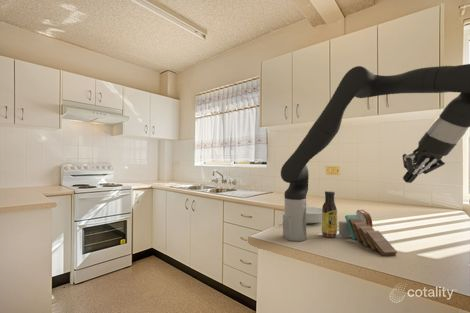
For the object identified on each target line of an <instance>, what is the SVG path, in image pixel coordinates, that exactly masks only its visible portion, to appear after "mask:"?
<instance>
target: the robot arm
mask: <svg viewBox="0 0 470 313" xmlns="http://www.w3.org/2000/svg"><path fill="white" fill-rule="evenodd" d="M443 93H459V94H458V95H457V96H456V97H454V98H453V99H451V100H450V101H449V102H448V104H447V105H446V106H445V107H444V109H443V110H442V112H440V114H439V116H438V117H437V118H436V119H435V120H434V121H433V122H432V123H431V125H430V126H429V127H428V129H427V130H426V132H425V133H423V135H422V137H420V139H419V140H418V145H417V146H418V147H416V149H414V150H413V151H412V153H410V154H407V153H403V154H402V163H403V168H404V169H406V170H407V171H406V173H405V174H404V175H403V176H402V180H403V181H404V182H405V183H409V184H411V183H413V182H414V181H415V179H416V178H417V177H418V176H420V175H422V174H424V175H426V174H428V173H431V172H432V171H434V170H437V169H438V168H441V167H443V166H444V165H445V164H446V163H445V161H443V160H442V158H443V157H446V156H448V155H449V154H450V153H451V152H452V150H453V149H454V148H455V147H456V146H457V145H458V143H459V142H460V141H461V140H462V138H463V137H464V136H465V135H466V133H467V132H468V130H469V129H470V63H468V64H467V63H466V64H461V65H459V64H458V65H439V66H429V67H427V66H426V67H419V68H415V69H412V70H407V71H405V72H402V73H400V74H399V73H398V74H393V75H381V74H380V75H379V74H374V73H373V72H371V71H370V70H369V69H367V68H366V67H365V66H361V65H357V66H354V67H352V68H350V69H349V70H347V72H346V73H345V74H344V75H343V77H342V78H341V80H340V82H339V83H338V85H337V88H336V89H335V91H334V93H333V95H332V96H331V97H330V100H329V101H328V103H327V104H326V106H325V107H324V109H323V110H322V112H321V113H320V115H319V116H318V118H317V119H316V121H315V122H314V123H313V124H312V126H311V127H310V128H309V131H308V132H307V134H306V135H305V137H304V138H303V139H302V140H301V142H300V143H299V145H298V146H297V147H296V149H295V151H294V152H293V153H292V154H291V155H290V156H289V158H288V159H287V160H286V161H285V163H283V165H282V166H281V169H280V177H281V179H282V180H283V182H285V183H287V184H289V186H288V188H287V189H286V190H285V191H284V196H283V197H284V214H282V236H283V238H285V239H286V240H287V241H294V242H301V241H302V242H303V241H306V240H307V223H306V206H307V194H308V191H309V176H310V174H309V169H308V166H307V164H308V163H309V162H310V160H312V159H313V158H314V157H315V156H317V155H318V154H320V152H322V151H323V150H325V148H327V147H328V146H329V145H330V143H331V142H332V141H333V139H335V137H336V135H337V134H338V132H339V131H340V128H341V125H342V120H343V117H344V113H345V111H346V109H348V108H347V107H348V106H349V104H350V103H351V102H352V101H353V99H355V98H358V99H365V98H372V97H378V96H386V95H397V94H398V95H399V94H443Z"/></svg>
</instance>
